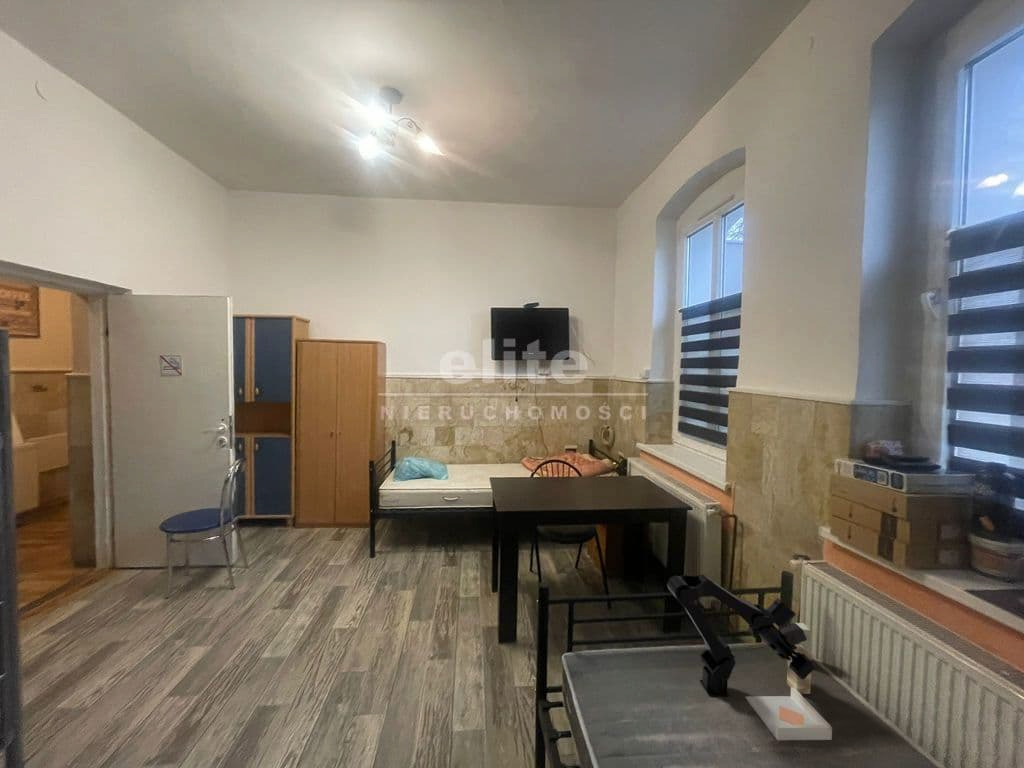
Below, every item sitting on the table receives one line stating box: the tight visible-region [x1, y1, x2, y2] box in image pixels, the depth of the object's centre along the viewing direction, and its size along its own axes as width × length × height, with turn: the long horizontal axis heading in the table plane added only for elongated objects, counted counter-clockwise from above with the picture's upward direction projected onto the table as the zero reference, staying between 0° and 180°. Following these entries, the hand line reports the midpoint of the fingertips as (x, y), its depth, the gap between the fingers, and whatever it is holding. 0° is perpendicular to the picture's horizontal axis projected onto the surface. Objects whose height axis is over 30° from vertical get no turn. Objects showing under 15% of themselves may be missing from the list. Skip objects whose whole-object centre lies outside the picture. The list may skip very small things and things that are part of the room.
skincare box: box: [790, 621, 811, 653], centre depth 150 cm, size 6×4×12 cm
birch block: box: [786, 645, 813, 695], centre depth 135 cm, size 4×4×13 cm
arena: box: [745, 687, 833, 741], centre depth 124 cm, size 16×15×4 cm
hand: (803, 668), depth 136 cm, fingers closed on birch block, 4 cm apart
